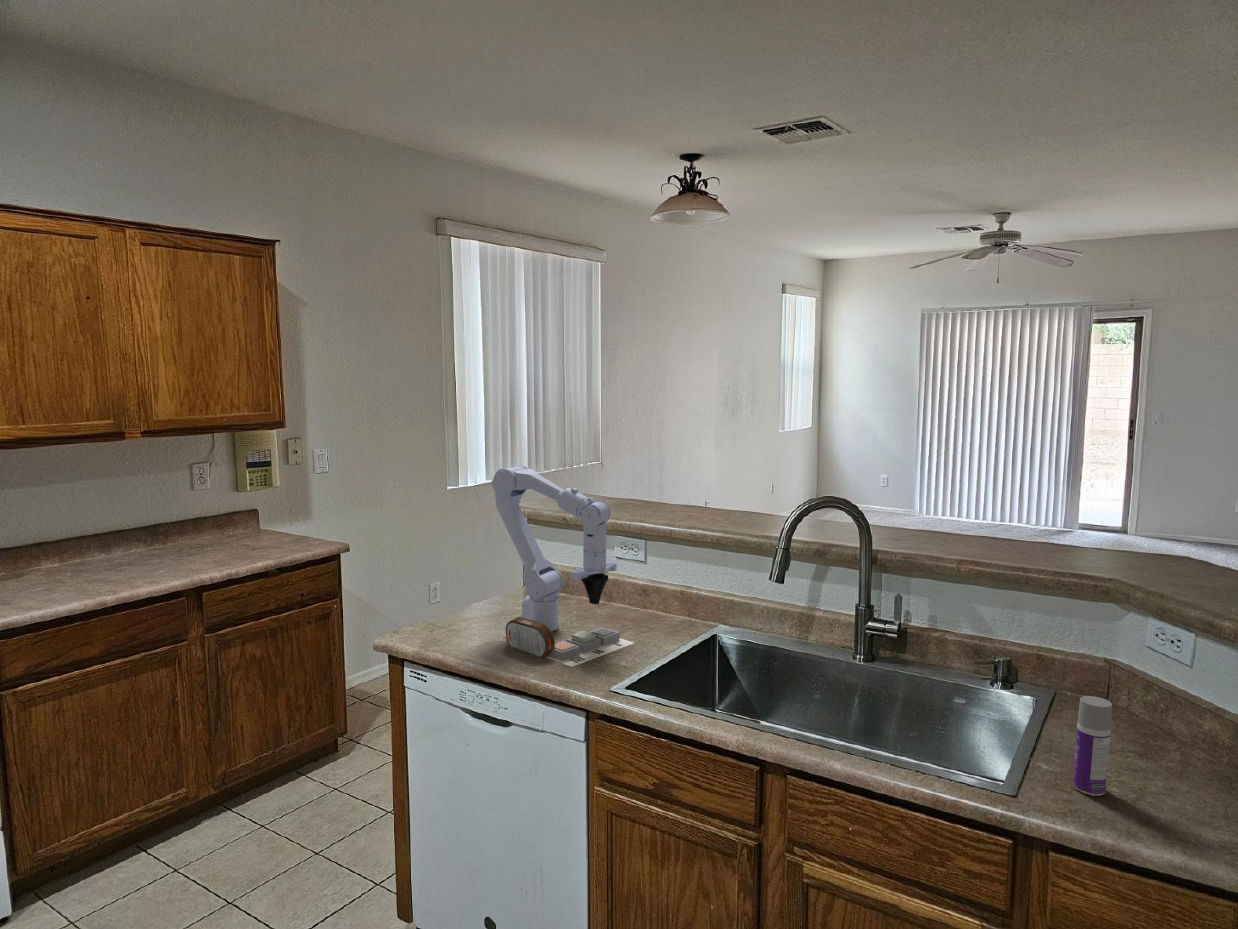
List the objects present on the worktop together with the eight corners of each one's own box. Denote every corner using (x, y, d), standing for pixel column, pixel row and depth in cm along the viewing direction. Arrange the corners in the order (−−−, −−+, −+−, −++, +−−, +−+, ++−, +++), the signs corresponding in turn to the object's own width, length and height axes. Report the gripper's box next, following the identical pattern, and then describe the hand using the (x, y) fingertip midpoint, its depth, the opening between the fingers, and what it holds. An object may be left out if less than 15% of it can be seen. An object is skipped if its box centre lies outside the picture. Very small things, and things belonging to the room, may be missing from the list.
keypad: (537, 658, 184) (537, 646, 184) (600, 636, 200) (600, 624, 200) (572, 671, 176) (572, 658, 176) (634, 646, 193) (635, 635, 193)
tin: (556, 659, 183) (554, 624, 182) (546, 663, 180) (544, 628, 179) (514, 646, 193) (512, 613, 192) (504, 650, 190) (502, 616, 189)
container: (1065, 782, 130) (1072, 695, 128) (1092, 781, 130) (1099, 695, 129) (1084, 797, 125) (1092, 707, 124) (1112, 796, 126) (1120, 707, 124)
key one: (591, 639, 194) (591, 632, 194) (602, 636, 197) (602, 628, 197) (603, 643, 192) (603, 635, 191) (614, 639, 194) (614, 631, 194)
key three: (550, 654, 184) (550, 646, 183) (562, 650, 187) (562, 642, 186) (562, 658, 181) (562, 650, 181) (574, 654, 184) (574, 645, 184)
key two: (571, 642, 189) (571, 634, 189) (583, 638, 192) (583, 630, 192) (583, 646, 186) (583, 638, 186) (595, 642, 189) (595, 634, 189)
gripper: (586, 557, 187) (585, 612, 189) (625, 548, 198) (625, 600, 200) (565, 553, 192) (565, 606, 193) (605, 544, 203) (604, 595, 204)
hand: (594, 603), depth 197 cm, fingers closed
